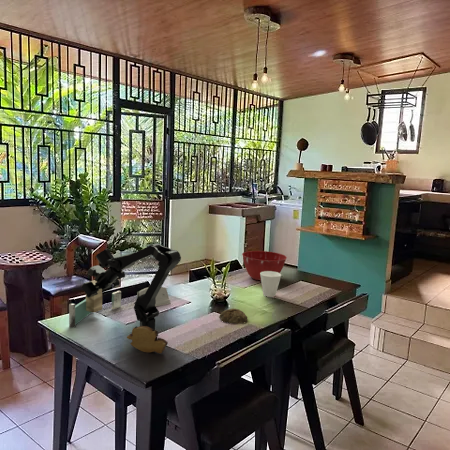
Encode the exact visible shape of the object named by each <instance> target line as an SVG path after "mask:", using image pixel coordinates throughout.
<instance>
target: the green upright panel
mask: <svg viewBox="0 0 450 450" xmlns="http://www.w3.org/2000/svg"><path fill="white" fill-rule="evenodd" d="M92 313H93V312H89V311H86V298H85V299H84V300H82V301H81V302H79V303H77V304H75V325H77V324H78V323H80V322H81V321H82V320H83V319H85V318H86V317H88V316H89V315H91V314H92Z"/></svg>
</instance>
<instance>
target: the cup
mask: <svg viewBox="0 0 450 450" xmlns="http://www.w3.org/2000/svg"><path fill="white" fill-rule="evenodd" d="M260 276H261V281H260V282H261V289H262V294H263V297H266V296H267V298H274V297H273V296H275V297H276V294H277V291H278V288H279V284H280V281H281V277H282V274H281V272H280V273H278V272H273V271H264V272H261V273H260Z"/></svg>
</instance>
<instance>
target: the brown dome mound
mask: <svg viewBox="0 0 450 450" xmlns="http://www.w3.org/2000/svg"><path fill="white" fill-rule="evenodd" d="M219 318H220V321H221V322H222V321H223V322H222V323H225V322H228V323H227V324H230V323H237V324H245V323H244V322H246V323H247V322H248V316H247V314H246V313H244V311H243V310H240V309H238V308H234V307H233V308H229V309H225V310H224V311H222V312H221V313H220V314H219Z"/></svg>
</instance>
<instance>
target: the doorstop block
mask: <svg viewBox="0 0 450 450" xmlns="http://www.w3.org/2000/svg"><path fill="white" fill-rule="evenodd" d="M90 281H91V282H92V283H93V284H94V285H96V284H95V283H96V282H97V281H95V279H94V280H90ZM97 293H98V294H97V295H94V296H92V297H89V298H87V295H86V294H85V299H86V311H89V312H92V313H97V312H100V311H102V310H103V293H102V289H99V291H98V292H97Z"/></svg>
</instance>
